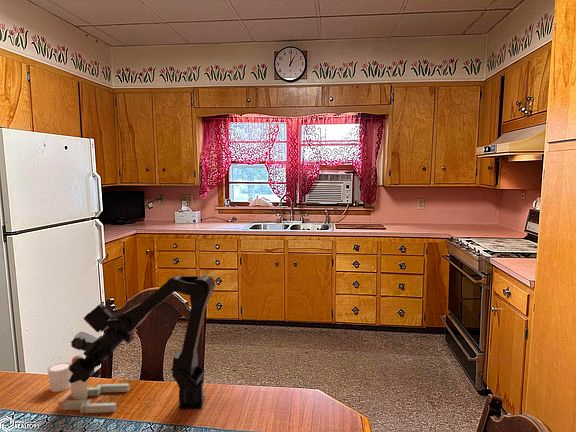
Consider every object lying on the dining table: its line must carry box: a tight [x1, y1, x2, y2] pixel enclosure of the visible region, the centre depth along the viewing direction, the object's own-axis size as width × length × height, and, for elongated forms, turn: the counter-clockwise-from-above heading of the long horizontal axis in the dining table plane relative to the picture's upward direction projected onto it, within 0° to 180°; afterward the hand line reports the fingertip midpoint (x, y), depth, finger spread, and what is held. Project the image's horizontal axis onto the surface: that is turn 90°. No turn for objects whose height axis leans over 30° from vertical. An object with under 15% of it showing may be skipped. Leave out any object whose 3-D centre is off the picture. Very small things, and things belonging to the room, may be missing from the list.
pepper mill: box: [69, 355, 89, 400], centre depth 124 cm, size 5×5×14 cm
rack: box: [57, 383, 130, 414], centre depth 124 cm, size 17×13×2 cm
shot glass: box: [47, 362, 71, 393], centre depth 133 cm, size 7×7×7 cm
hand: (73, 378), depth 124 cm, fingers closed on pepper mill, 4 cm apart
